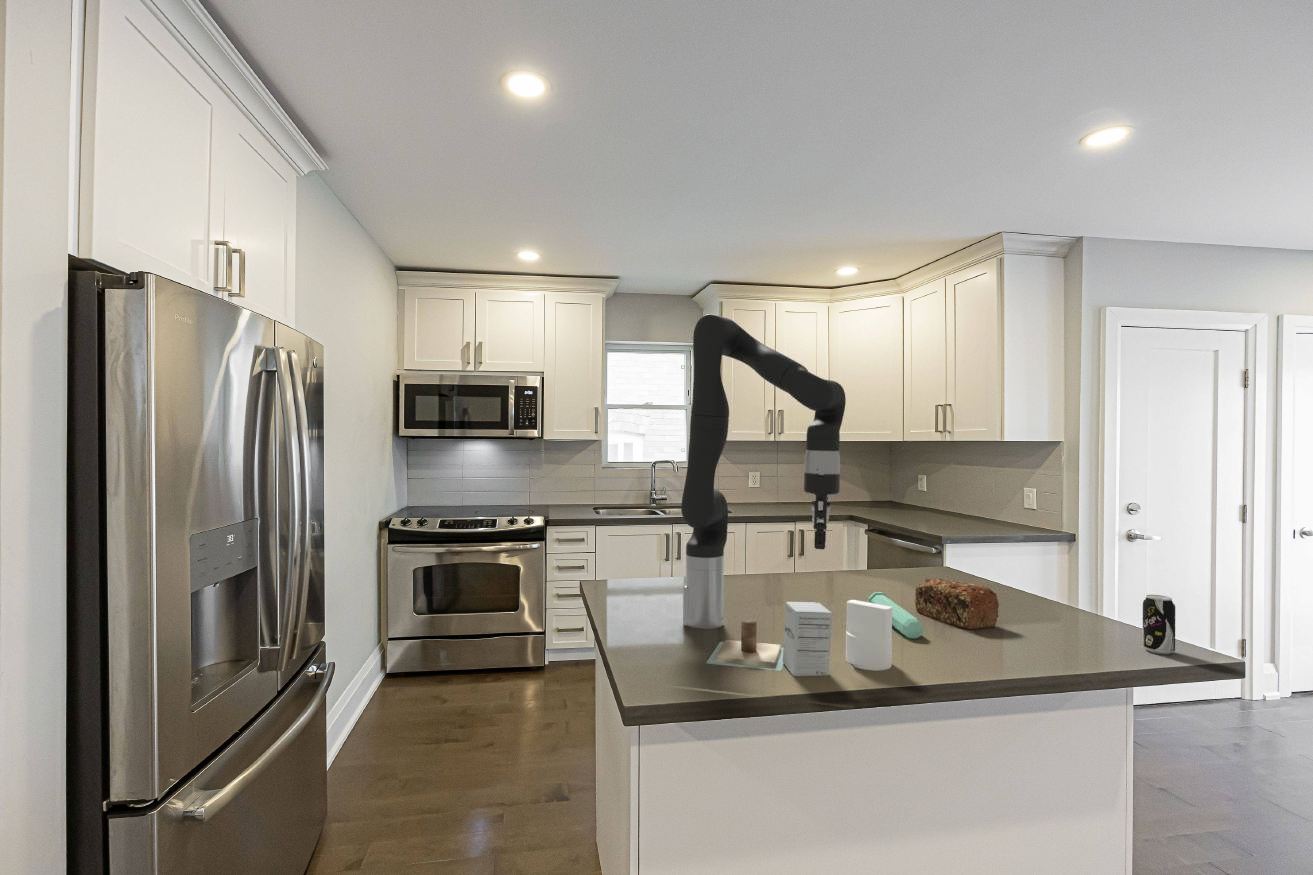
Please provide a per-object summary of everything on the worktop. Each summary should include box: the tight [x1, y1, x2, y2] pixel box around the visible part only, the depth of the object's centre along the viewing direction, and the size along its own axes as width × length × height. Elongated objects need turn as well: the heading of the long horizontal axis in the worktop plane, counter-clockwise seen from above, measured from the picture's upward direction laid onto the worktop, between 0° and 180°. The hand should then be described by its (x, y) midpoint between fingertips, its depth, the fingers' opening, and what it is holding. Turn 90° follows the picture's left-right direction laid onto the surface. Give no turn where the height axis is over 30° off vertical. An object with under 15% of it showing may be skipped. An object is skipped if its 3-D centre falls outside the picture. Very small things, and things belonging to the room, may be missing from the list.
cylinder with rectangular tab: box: [845, 599, 893, 671], centre depth 138 cm, size 9×9×12 cm
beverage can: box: [1141, 594, 1176, 655], centre depth 147 cm, size 6×6×12 cm
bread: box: [914, 577, 1000, 630], centre depth 172 cm, size 19×11×10 cm, turn 18°
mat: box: [706, 641, 785, 672], centre depth 141 cm, size 15×15×1 cm
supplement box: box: [783, 601, 833, 677], centre depth 133 cm, size 7×7×13 cm
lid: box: [715, 619, 782, 668], centre depth 141 cm, size 12×12×7 cm
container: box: [867, 591, 924, 639], centre depth 167 cm, size 6×6×25 cm
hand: (820, 545), depth 147 cm, fingers open, 8 cm apart
